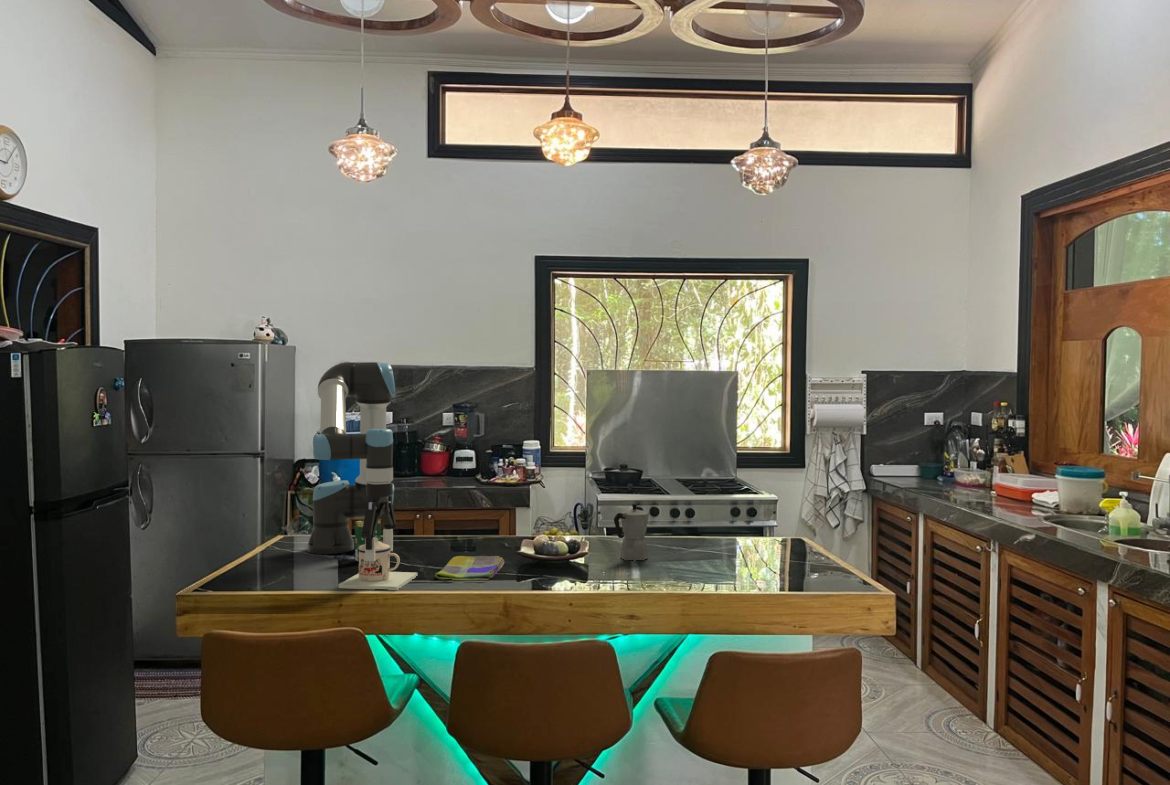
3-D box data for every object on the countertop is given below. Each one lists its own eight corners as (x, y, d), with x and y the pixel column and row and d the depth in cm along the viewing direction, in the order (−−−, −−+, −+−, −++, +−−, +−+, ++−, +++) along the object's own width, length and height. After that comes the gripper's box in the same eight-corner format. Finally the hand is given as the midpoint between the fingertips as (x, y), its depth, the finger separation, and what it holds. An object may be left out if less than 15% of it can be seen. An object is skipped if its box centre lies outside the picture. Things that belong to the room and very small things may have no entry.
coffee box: (356, 563, 261) (356, 522, 261) (354, 561, 263) (354, 520, 263) (381, 560, 265) (381, 519, 265) (378, 558, 268) (379, 518, 267)
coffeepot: (639, 553, 278) (639, 500, 278) (658, 558, 271) (659, 503, 270) (604, 559, 268) (604, 504, 268) (624, 564, 261) (624, 508, 261)
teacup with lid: (353, 581, 233) (353, 540, 233) (364, 574, 242) (364, 534, 242) (394, 582, 232) (394, 541, 232) (404, 575, 241) (404, 535, 241)
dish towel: (431, 581, 240) (431, 571, 240) (452, 562, 265) (452, 554, 264) (490, 582, 239) (490, 573, 239) (505, 564, 263) (505, 555, 263)
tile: (362, 573, 246) (362, 570, 246) (417, 575, 244) (417, 572, 244) (338, 588, 229) (338, 584, 229) (397, 590, 227) (397, 586, 227)
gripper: (383, 477, 249) (382, 546, 250) (349, 487, 224) (349, 564, 225) (406, 477, 248) (406, 547, 249) (375, 488, 224) (375, 565, 224)
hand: (379, 555), depth 237 cm, fingers open, 13 cm apart
